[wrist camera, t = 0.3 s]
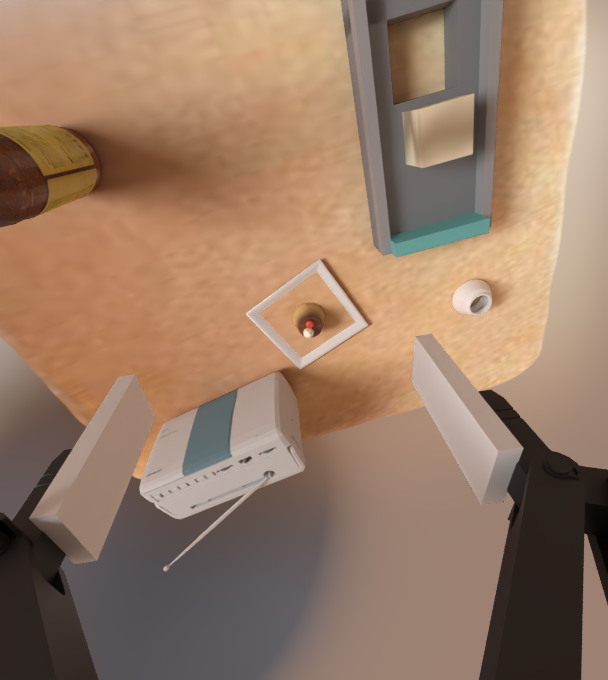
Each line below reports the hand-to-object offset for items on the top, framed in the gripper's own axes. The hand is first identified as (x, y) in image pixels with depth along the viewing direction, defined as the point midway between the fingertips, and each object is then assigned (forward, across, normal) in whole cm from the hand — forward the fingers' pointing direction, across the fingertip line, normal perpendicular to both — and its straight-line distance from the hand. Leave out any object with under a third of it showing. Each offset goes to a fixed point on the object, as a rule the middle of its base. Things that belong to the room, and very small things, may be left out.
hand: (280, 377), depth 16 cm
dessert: (+28, +3, -12) cm, 30 cm away
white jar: (+27, +25, -12) cm, 39 cm away
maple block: (+24, +16, +8) cm, 31 cm away
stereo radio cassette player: (+27, -11, -26) cm, 39 cm away
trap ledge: (+27, +16, +12) cm, 33 cm away
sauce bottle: (+27, -19, +10) cm, 35 cm away
